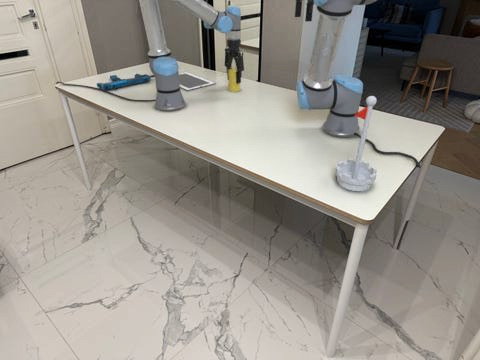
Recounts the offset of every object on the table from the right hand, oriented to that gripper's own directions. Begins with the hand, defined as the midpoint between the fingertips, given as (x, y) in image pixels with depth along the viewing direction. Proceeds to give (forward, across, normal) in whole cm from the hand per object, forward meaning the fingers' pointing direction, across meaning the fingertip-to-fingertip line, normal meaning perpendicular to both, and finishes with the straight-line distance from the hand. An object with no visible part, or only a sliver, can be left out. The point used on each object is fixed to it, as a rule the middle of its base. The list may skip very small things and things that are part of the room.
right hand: (302, 19), depth 155 cm
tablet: (+41, -52, -52) cm, 84 cm away
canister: (+41, -30, -27) cm, 57 cm away
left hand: (+36, -30, -27) cm, 54 cm away
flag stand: (+41, +74, -5) cm, 85 cm away
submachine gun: (+41, -58, -90) cm, 114 cm away
